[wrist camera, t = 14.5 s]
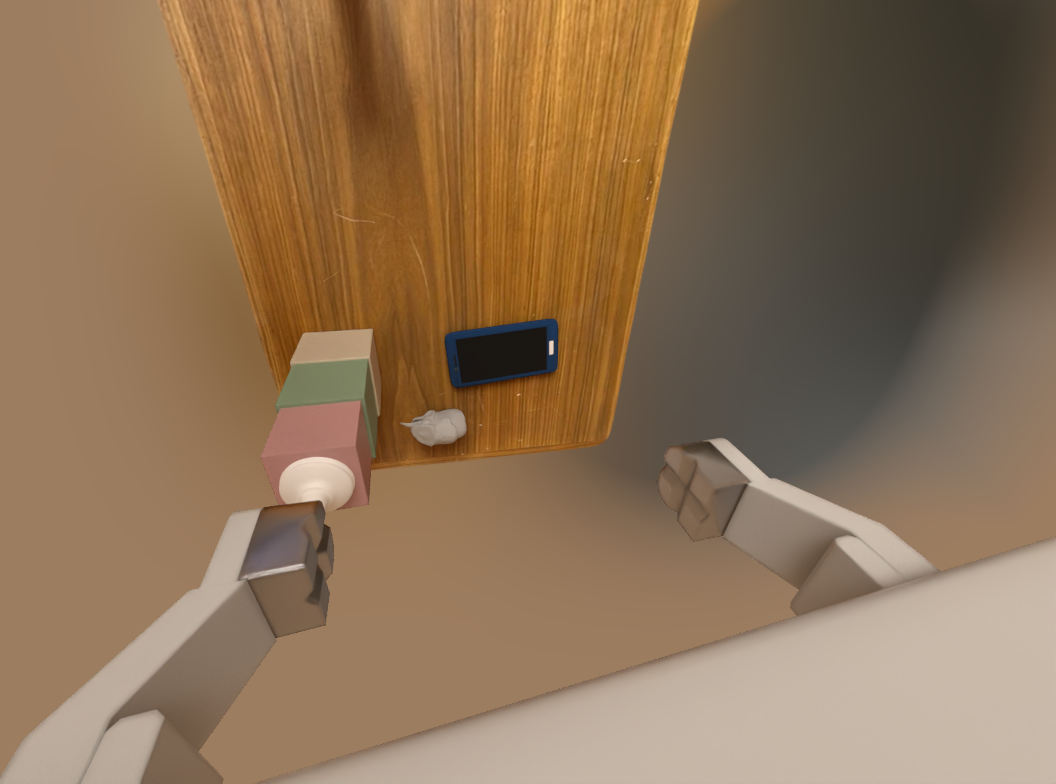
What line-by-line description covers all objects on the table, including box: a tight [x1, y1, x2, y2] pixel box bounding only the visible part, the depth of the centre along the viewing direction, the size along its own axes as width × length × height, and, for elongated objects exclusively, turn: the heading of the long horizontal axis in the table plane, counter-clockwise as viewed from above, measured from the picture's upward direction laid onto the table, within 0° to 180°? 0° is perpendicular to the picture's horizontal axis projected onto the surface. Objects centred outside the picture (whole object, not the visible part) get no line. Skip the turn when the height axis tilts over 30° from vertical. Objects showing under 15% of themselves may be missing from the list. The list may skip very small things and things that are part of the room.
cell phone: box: [445, 319, 558, 388], centre depth 51 cm, size 7×14×1 cm, turn 92°
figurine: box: [400, 409, 466, 446], centre depth 51 cm, size 4×8×5 cm, turn 79°
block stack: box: [261, 329, 381, 510], centre depth 38 cm, size 7×7×20 cm
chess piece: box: [279, 457, 355, 512], centre depth 26 cm, size 5×5×10 cm
